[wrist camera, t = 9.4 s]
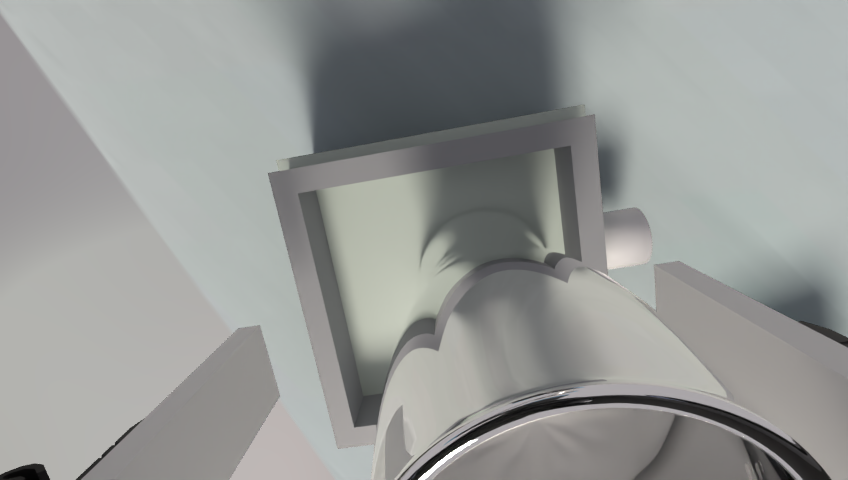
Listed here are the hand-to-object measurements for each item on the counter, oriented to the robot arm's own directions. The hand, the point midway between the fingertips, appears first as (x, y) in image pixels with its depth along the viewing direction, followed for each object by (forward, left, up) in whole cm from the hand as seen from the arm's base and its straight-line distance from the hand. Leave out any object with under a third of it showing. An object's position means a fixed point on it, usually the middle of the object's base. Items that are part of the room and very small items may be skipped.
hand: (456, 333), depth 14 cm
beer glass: (0, +2, -7) cm, 7 cm away
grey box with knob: (0, +1, -12) cm, 13 cm away
